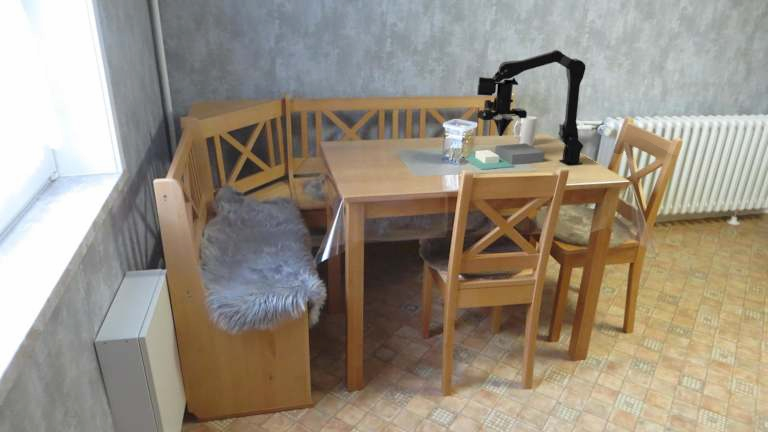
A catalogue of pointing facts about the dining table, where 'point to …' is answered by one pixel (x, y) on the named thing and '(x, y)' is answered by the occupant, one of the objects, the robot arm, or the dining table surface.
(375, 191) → the dining table surface
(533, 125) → the mug
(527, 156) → the grey square slab
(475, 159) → the mat
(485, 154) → the tile
